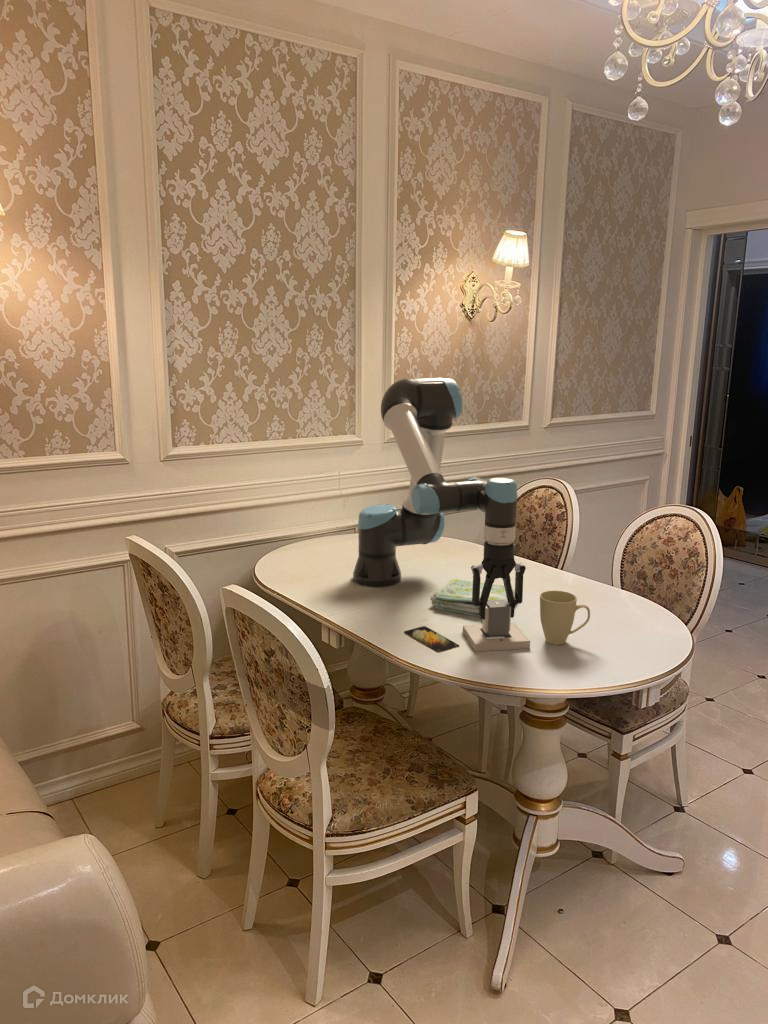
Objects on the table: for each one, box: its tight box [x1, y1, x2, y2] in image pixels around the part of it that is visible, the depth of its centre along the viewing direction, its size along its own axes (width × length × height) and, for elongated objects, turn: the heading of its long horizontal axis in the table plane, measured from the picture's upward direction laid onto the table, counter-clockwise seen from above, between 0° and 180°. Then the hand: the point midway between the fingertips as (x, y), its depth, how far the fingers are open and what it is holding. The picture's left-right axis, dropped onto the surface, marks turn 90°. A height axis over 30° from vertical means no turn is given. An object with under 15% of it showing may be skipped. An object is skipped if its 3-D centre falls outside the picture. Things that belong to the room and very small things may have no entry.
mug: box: [539, 590, 591, 646], centre depth 187 cm, size 11×10×12 cm
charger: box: [487, 600, 510, 636], centre depth 187 cm, size 5×5×8 cm
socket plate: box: [462, 621, 531, 653], centre depth 189 cm, size 12×14×2 cm
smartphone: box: [403, 625, 460, 653], centre depth 190 cm, size 7×1×15 cm
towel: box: [430, 578, 515, 617], centre depth 214 cm, size 18×21×5 cm
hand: (496, 629), depth 188 cm, fingers closed on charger, 5 cm apart
